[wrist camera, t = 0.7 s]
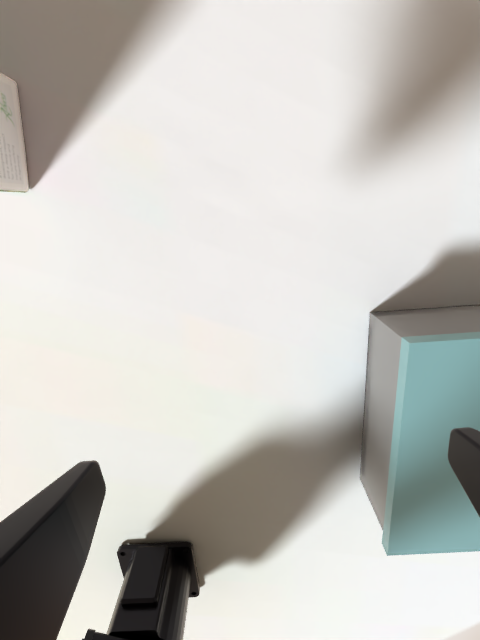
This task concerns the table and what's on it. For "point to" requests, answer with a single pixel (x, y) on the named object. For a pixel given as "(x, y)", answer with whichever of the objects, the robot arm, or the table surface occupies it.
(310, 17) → the table surface
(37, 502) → the robot arm
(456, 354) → the lid
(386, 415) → the tub
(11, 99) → the syrup box
